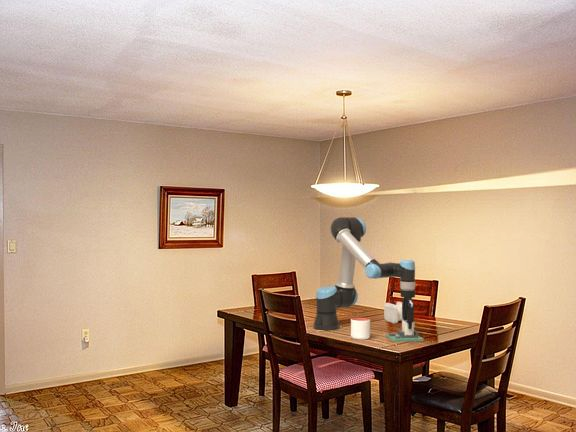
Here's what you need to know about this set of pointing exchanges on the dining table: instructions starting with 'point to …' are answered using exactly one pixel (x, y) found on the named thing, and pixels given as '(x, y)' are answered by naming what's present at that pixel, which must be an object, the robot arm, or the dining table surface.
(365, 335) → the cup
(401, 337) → the board
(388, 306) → the cable organizer
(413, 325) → the plug
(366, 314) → the dining table surface
